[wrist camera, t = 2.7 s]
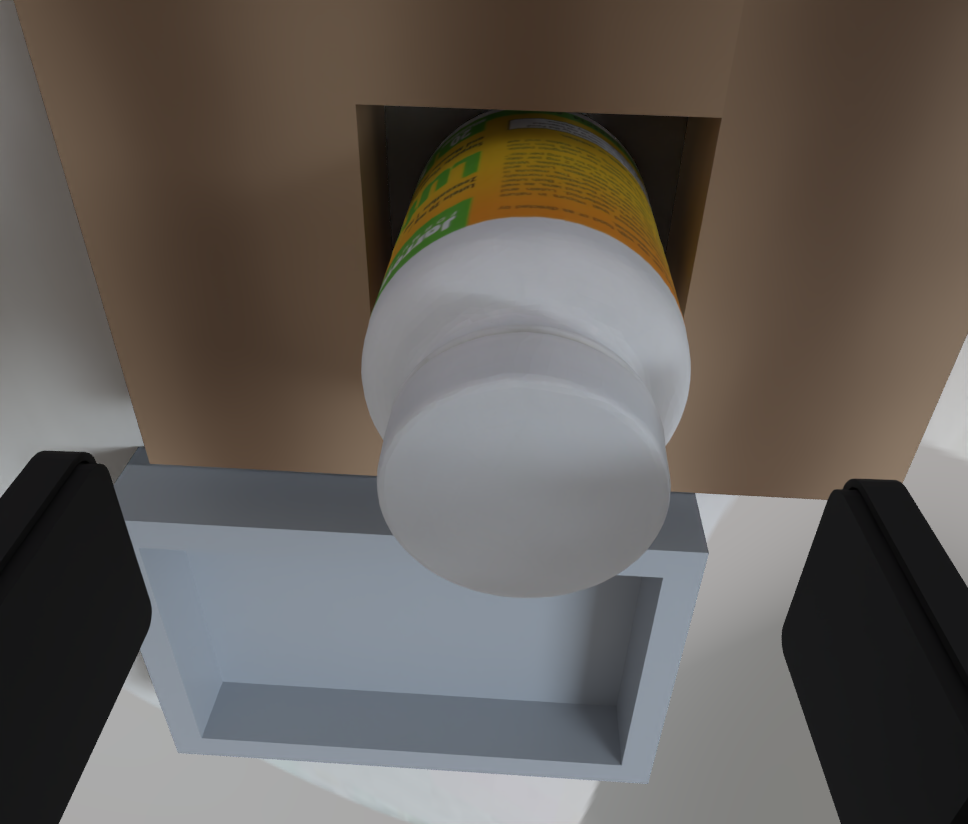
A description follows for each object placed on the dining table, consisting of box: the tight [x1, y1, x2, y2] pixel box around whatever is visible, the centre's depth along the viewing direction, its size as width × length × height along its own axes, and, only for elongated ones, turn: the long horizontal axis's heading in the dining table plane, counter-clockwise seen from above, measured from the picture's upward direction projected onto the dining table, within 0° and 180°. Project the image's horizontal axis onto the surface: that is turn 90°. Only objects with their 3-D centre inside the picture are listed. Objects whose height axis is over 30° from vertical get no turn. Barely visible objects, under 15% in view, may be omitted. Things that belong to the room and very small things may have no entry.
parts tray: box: [113, 447, 709, 784], centre depth 25 cm, size 16×11×3 cm
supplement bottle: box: [361, 109, 691, 598], centre depth 15 cm, size 5×5×10 cm
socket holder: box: [14, 0, 968, 500], centre depth 17 cm, size 18×11×3 cm, turn 89°
